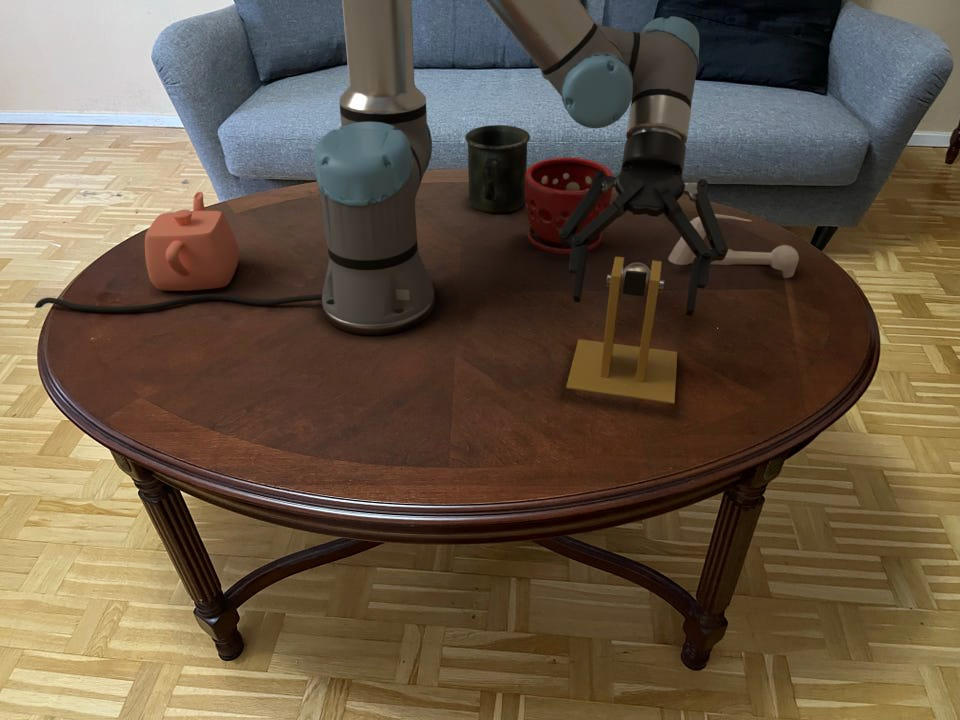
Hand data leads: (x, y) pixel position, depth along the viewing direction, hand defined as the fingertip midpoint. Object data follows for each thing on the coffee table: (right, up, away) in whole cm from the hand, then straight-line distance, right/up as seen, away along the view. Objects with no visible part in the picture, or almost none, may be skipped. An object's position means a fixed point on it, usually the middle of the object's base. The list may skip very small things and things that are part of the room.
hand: (632, 306), depth 87 cm
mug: (-16, +20, +39) cm, 46 cm away
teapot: (-60, +6, +20) cm, 63 cm away
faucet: (+19, +7, +19) cm, 28 cm away
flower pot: (-5, +12, +26) cm, 29 cm away
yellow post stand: (-2, -9, -2) cm, 9 cm away
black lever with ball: (-1, +1, -4) cm, 4 cm away
